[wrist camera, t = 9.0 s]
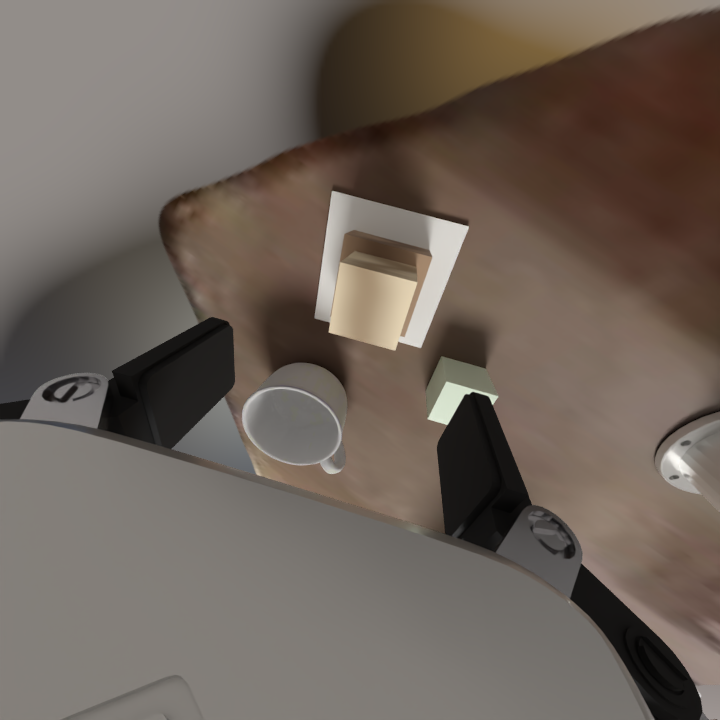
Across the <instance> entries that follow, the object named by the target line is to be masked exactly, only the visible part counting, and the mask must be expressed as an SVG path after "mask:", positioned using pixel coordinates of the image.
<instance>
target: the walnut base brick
mask: <svg viewBox="0 0 720 720" xmlns="http://www.w3.org/2000/svg"><path fill="white" fill-rule="evenodd" d="M354 251H357V252H361V253H365V254H369V255H373V256H377V257H380V258H384V259H388V260H392V261H396V262H400V263H403V264H407V265H411V266H415V267H417V282H418V283H417V286H416V289H415V292H414V295H413V298H412V301H411V304H410V307H409V310H408V313H407V316H406V319H405V322H404V325H403V328H402V331H401V334H400V336H402V337H405V335H406V332H407V329H408V326H409V323H410V320H411V318H412V315H413V312H414V309H415V306H416V303H417V300H418V297H419V295H420V292H421V289H422V286H423V283H424V280H425V277H426V275H427V272H428V269H429V266H430V263H431V260H432V255H431V252H430V250H428V249H424V248H420V247H416V246H413V245H409V244H405V243H401V242H398V241H394V240H390V239H386V238H383V237H379V236H375V235H371V234H368V233H364V232H360V231H356V230H353V231H350V232H348V233H345V234H344V239H343V245H342V251H341V257H340V262H341V261H342V260H344V259H345V258H346V257H348V256H349V255H350V254H352V253H353V252H354ZM340 262H339V266H340ZM338 272H339V268H338ZM337 278H338V274H337ZM336 284H337V280H336ZM335 290H336V286H335ZM334 297H335V291H334ZM334 297H333V303H334ZM333 303H332V309H333ZM332 309H331V315H332ZM331 315H330V317H331Z"/></svg>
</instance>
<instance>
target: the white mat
mask: <svg viewBox="0 0 720 720" xmlns="http://www.w3.org/2000/svg"><path fill="white" fill-rule="evenodd" d="M468 228H469V226H465V225H461V224H457V223H454V222H450V221H446V220H442V219H438V218H435V217H431V216H427V215H423V214H419V213H415V212H412V211H408V210H404V209H400V208H396V207H393V206H389V205H385V204H381V203H377V202H373V201H370V200H366V199H362V198H358V197H354V196H351V195H347V194H343V193H339V192H335V191H332V194H331V202H330V209H329V216H328V223H327V231H326V238H325V245H324V252H323V260H322V267H321V274H320V282H319V289H318V296H317V303H316V311H315V319H319V320H322V321H326V322H330V321H331V317H330V315H331V309H332V303H333V297H334V291H335V286H336V280H337V274H338V268H339V262H340V257H341V251H342V245H343V239H344V234H345V233H348V232H350V231H353V230H356V231H360V232H364V233H368V234H371V235H375V236H379V237H383V238H386V239H390V240H394V241H398V242H401V243H405V244H409V245H413V246H416V247H420V248H424V249H428V250H430V252H431V255H432V260H431V263H430V266H429V269H428V272H427V275H426V277H425V280H424V283H423V286H422V289H421V292H420V295H419V297H418V300H417V303H416V306H415V309H414V312H413V315H412V318H411V320H410V323H409V326H408V329H407V332H406V335H405V337H402V336H400V337H399V341H398V342H401V343H405V344H408V345H412V346H415V347H419V348H421V347H422V344H423V341H424V339H425V336H426V334H427V331H428V329H429V326H430V324H431V321H432V319H433V316H434V314H435V311H436V309H437V306H438V304H439V301H440V299H441V296H442V294H443V291H444V289H445V286H446V283H447V281H448V278H449V276H450V273H451V271H452V268H453V266H454V263H455V261H456V258H457V256H458V253H459V251H460V248H461V246H462V243H463V241H464V238H465V236H466V233H467V231H468Z"/></svg>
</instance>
